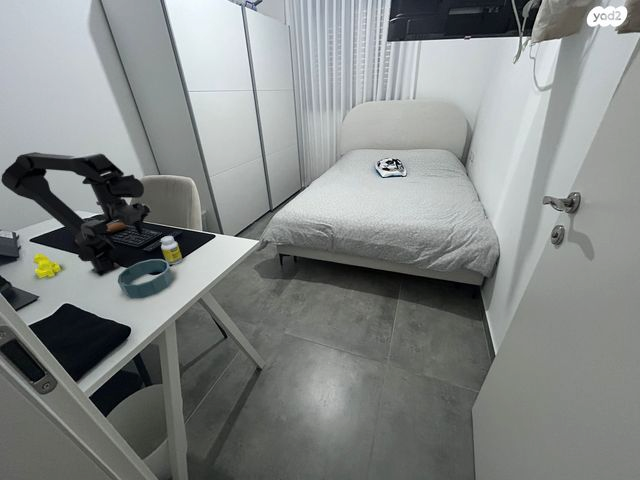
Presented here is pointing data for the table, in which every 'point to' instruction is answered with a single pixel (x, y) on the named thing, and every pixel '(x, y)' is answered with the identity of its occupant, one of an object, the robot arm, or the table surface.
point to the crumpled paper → (45, 266)
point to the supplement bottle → (170, 250)
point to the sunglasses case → (115, 227)
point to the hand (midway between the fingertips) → (128, 241)
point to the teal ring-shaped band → (146, 287)
